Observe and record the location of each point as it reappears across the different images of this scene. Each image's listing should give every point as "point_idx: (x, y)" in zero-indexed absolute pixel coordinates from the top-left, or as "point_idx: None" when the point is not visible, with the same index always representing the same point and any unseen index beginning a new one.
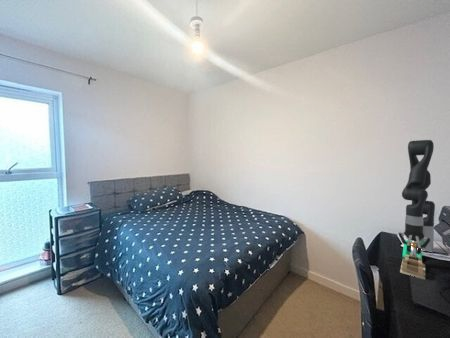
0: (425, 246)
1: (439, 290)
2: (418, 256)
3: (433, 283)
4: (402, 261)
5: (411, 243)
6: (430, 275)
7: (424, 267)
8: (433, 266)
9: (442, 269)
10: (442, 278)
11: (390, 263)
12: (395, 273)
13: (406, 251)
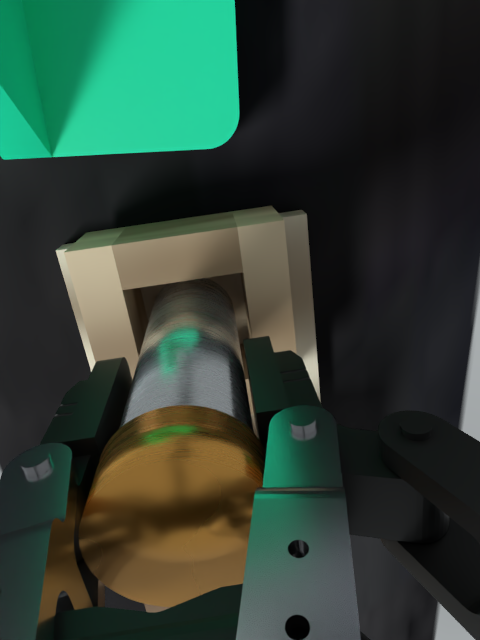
0: (452, 547)
1: (409, 609)
2: (205, 24)
3: (378, 547)
4: (89, 351)
5: (135, 580)
6: (358, 425)
7: (308, 328)
8: (382, 125)
9: (469, 144)
10: (443, 407)
11: (17, 449)
12: (135, 601)
13: (17, 86)
